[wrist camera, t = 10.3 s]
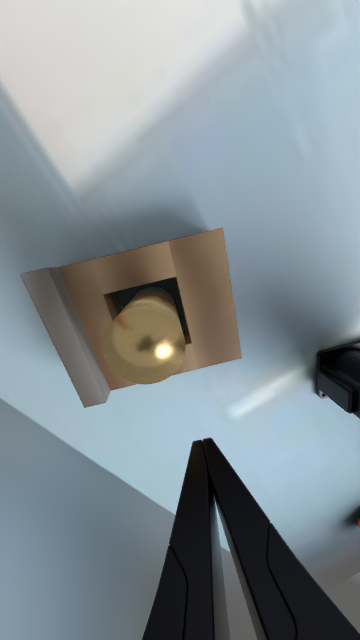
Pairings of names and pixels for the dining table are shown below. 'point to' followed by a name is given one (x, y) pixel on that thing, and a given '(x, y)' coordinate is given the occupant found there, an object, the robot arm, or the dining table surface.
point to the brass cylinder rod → (145, 338)
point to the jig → (103, 307)
